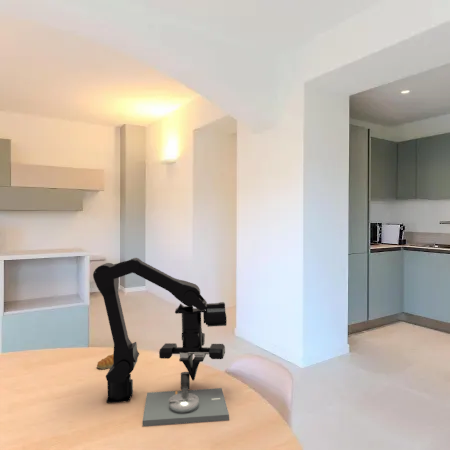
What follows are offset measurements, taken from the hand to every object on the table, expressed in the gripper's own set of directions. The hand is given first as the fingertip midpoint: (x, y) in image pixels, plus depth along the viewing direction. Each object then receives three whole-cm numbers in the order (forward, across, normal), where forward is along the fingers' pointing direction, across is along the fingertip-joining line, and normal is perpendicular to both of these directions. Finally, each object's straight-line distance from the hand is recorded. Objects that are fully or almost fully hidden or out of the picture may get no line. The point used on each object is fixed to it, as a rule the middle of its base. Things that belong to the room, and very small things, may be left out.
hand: (193, 379), depth 116 cm
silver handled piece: (+3, +1, +6) cm, 7 cm away
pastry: (+4, +34, -21) cm, 40 cm away
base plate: (+5, +1, +8) cm, 9 cm away
